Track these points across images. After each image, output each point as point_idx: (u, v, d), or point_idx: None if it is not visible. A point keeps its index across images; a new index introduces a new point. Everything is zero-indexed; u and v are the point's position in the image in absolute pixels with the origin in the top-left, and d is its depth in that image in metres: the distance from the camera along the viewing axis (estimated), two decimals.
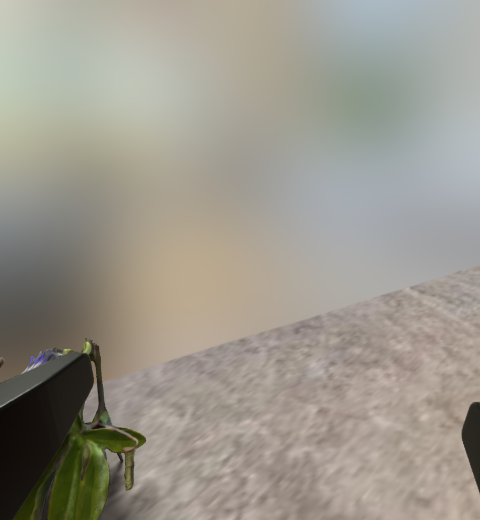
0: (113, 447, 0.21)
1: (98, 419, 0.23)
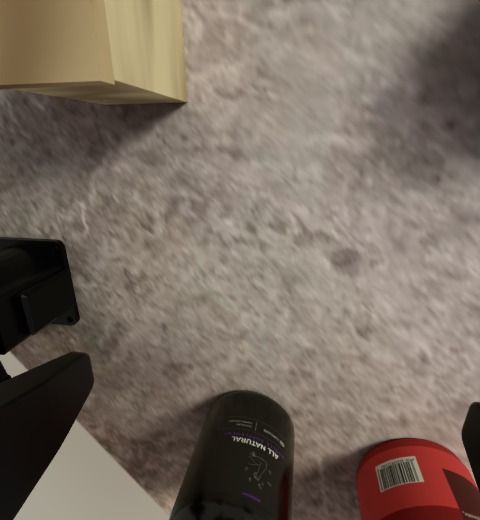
0: None
1: None
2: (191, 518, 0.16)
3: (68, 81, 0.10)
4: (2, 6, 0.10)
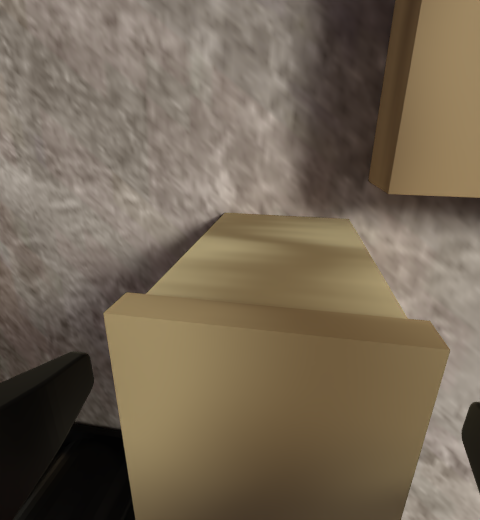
0: None
1: None
2: None
3: None
4: (250, 479, 0.06)
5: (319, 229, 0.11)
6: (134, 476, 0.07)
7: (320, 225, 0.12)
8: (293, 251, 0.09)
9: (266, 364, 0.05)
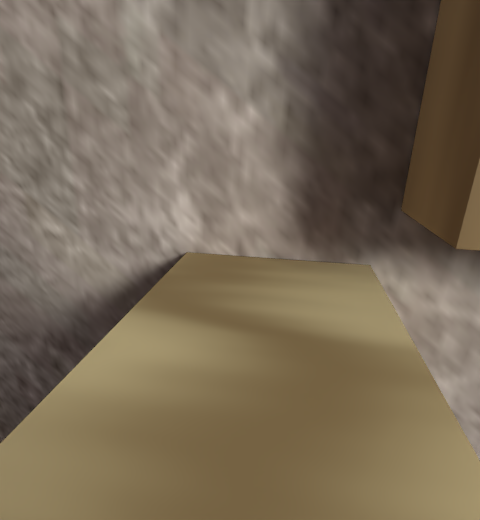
0: None
1: None
2: None
3: None
4: None
5: (327, 292, 0.07)
6: None
7: (328, 281, 0.08)
8: (281, 362, 0.05)
9: None
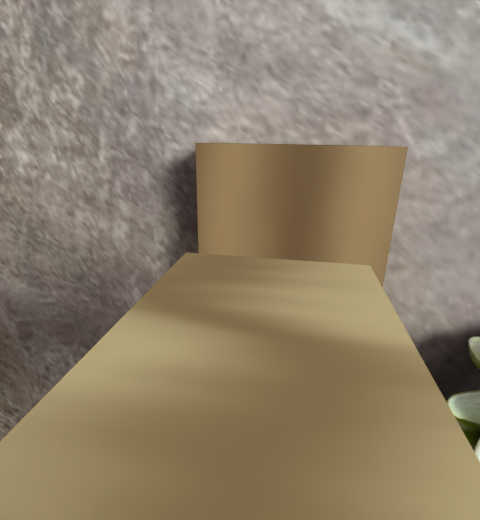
0: None
1: None
2: None
3: None
4: None
5: (327, 292, 0.07)
6: None
7: (328, 281, 0.08)
8: (280, 363, 0.05)
9: None
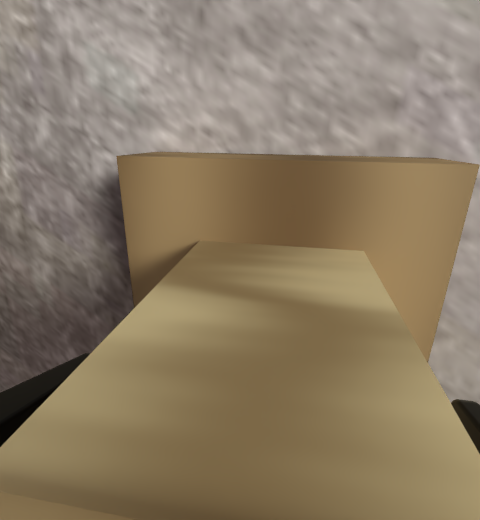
0: None
1: None
2: None
3: None
4: None
5: (325, 272, 0.08)
6: None
7: (326, 263, 0.09)
8: (286, 321, 0.06)
9: None
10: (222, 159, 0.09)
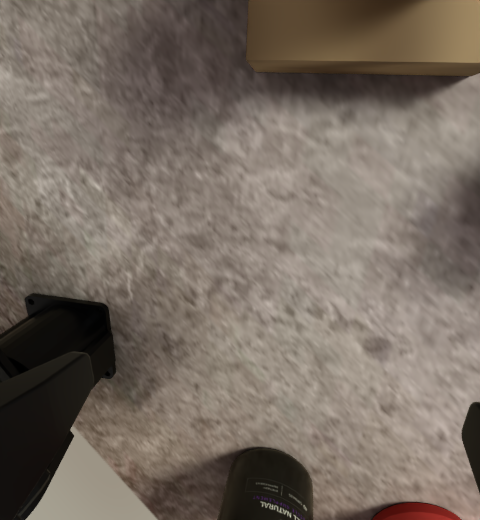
0: None
1: None
2: None
3: None
4: None
5: None
6: None
7: None
8: None
9: None
10: None
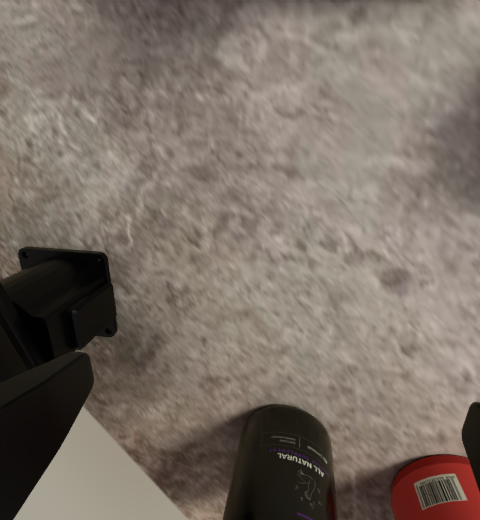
0: None
1: None
2: None
3: None
4: None
5: None
6: None
7: None
8: None
9: None
10: None
